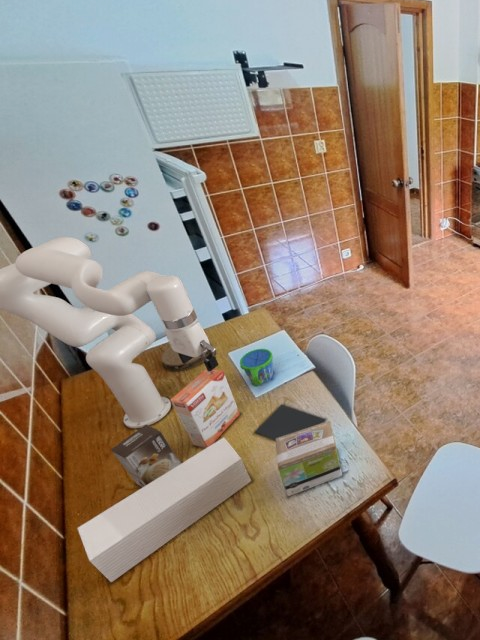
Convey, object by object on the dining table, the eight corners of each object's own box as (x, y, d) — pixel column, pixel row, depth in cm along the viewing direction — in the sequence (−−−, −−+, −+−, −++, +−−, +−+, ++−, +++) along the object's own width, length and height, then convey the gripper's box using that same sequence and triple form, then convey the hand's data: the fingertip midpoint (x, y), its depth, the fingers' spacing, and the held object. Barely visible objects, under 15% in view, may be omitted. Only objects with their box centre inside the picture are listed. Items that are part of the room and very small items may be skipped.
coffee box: (168, 457, 117) (147, 422, 109) (182, 465, 115) (162, 430, 107) (135, 484, 110) (109, 449, 101) (150, 493, 108) (125, 458, 99)
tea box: (288, 498, 108) (276, 467, 100) (285, 468, 116) (273, 437, 108) (343, 476, 114) (335, 445, 107) (337, 449, 122) (329, 418, 114)
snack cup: (273, 391, 141) (266, 371, 135) (241, 395, 138) (233, 375, 133) (281, 362, 154) (276, 342, 148) (252, 365, 151) (246, 345, 146)
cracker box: (209, 449, 120) (185, 403, 109) (192, 445, 121) (167, 399, 110) (241, 414, 132) (223, 369, 121) (226, 410, 133) (206, 366, 122)
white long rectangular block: (234, 459, 117) (224, 437, 112) (251, 481, 112) (241, 458, 106) (98, 550, 95) (77, 527, 90) (111, 582, 90) (89, 560, 84)
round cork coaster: (173, 346, 159) (171, 340, 157) (217, 341, 162) (214, 335, 161) (156, 373, 146) (153, 367, 144) (203, 367, 149) (201, 361, 148)
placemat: (254, 432, 126) (254, 431, 125) (281, 405, 136) (281, 404, 135) (300, 449, 121) (300, 448, 121) (325, 419, 131) (324, 419, 131)
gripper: (142, 319, 105) (167, 365, 114) (190, 333, 101) (212, 380, 110) (169, 304, 111) (190, 349, 120) (215, 317, 107) (234, 363, 116)
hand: (200, 364), depth 115 cm, fingers open, 9 cm apart
